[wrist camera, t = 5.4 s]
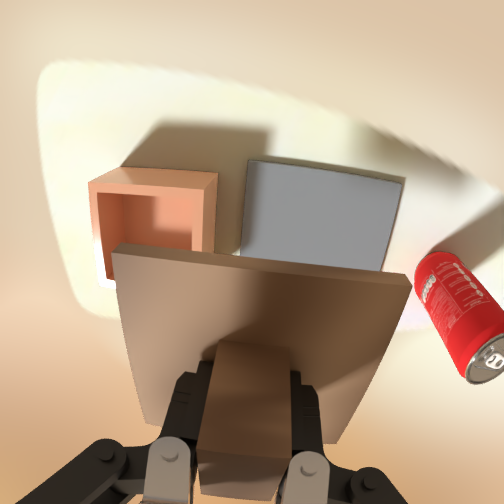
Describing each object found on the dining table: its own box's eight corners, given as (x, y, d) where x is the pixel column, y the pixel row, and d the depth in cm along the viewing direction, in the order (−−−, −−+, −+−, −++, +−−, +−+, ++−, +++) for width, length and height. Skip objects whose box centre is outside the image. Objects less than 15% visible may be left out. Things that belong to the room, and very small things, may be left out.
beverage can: (433, 237, 25) (504, 319, 14) (466, 262, 26) (532, 342, 15) (399, 282, 27) (448, 378, 16) (434, 303, 28) (484, 392, 17)
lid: (404, 273, 10) (468, 386, 6) (334, 432, 15) (342, 518, 10) (120, 242, 11) (35, 340, 6) (149, 411, 15) (122, 494, 10)
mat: (399, 182, 23) (402, 184, 23) (368, 298, 28) (369, 302, 27) (248, 159, 23) (248, 161, 23) (237, 284, 28) (237, 288, 28)
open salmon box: (218, 172, 24) (203, 189, 20) (213, 269, 28) (201, 302, 23) (119, 166, 24) (88, 182, 20) (124, 257, 28) (100, 285, 24)
